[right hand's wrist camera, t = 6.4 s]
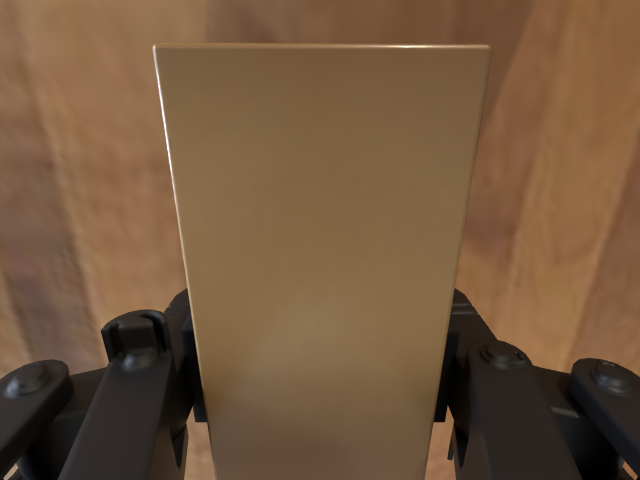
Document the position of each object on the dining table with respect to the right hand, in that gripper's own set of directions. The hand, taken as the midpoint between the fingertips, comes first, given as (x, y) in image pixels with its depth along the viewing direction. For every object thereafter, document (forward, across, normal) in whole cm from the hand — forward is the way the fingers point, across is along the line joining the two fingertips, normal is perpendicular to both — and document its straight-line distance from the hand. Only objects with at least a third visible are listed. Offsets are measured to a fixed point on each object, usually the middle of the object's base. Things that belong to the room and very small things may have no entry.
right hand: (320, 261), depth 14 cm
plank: (+1, 0, -20) cm, 20 cm away
